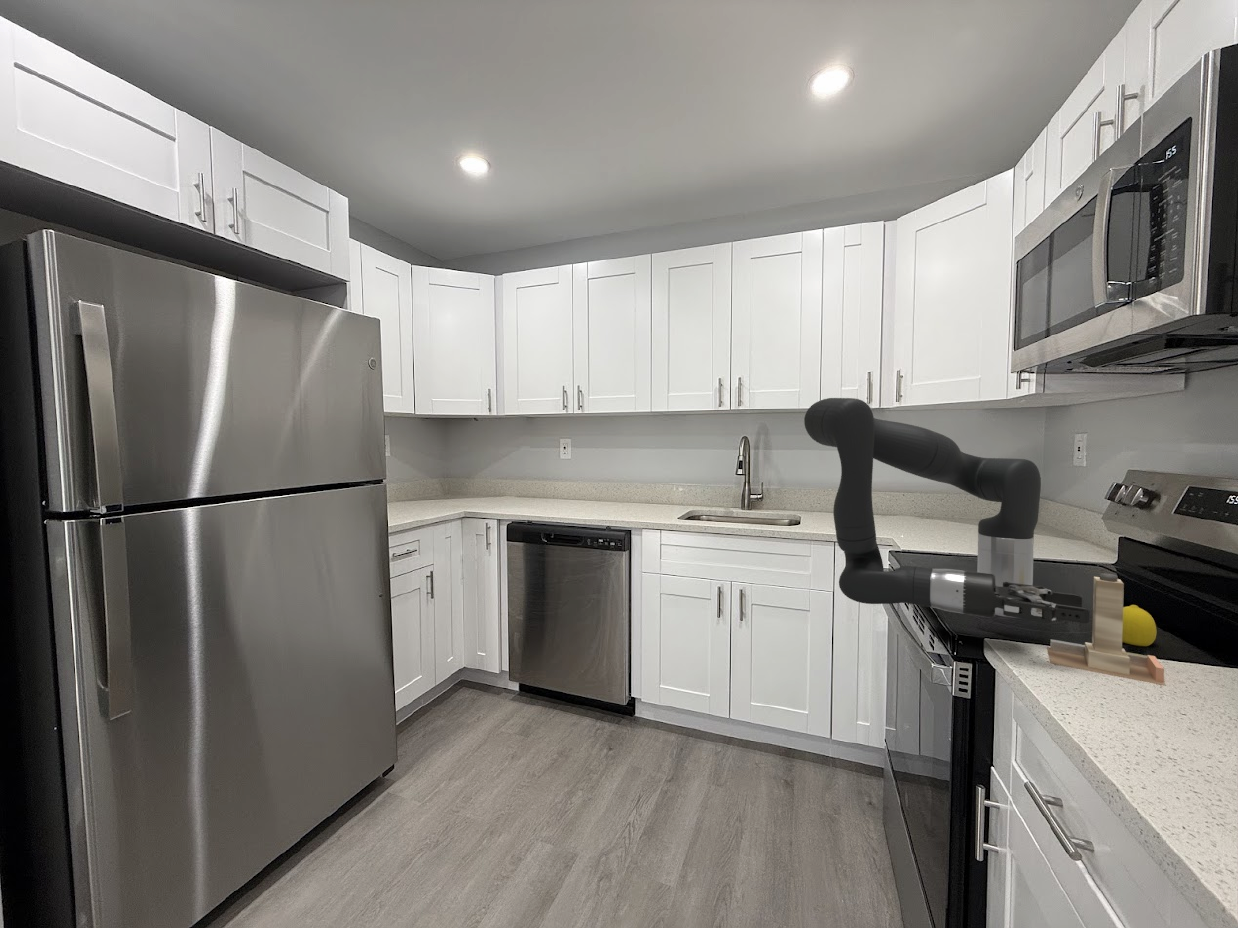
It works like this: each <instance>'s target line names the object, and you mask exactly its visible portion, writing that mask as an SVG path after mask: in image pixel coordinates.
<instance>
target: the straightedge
mask: <svg viewBox="0 0 1238 928" xmlns="http://www.w3.org/2000/svg"><path fill="white" fill-rule="evenodd" d="M1049 646H1050V647H1049V648H1051V650H1052V651H1058V652H1063V653H1069V654H1075V655H1080V656H1085V644H1082V643H1075V642H1068V641H1063V640H1058V639H1052V638H1051V639H1050V645H1049ZM1126 653H1127V655H1128V656H1129V658H1130V665H1135V666H1141V667H1146V668H1147V655H1145V654H1144V655H1143V654H1139V653H1133V652H1128V651H1126Z"/></svg>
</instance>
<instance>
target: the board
mask: <svg viewBox="0 0 1238 928" xmlns="http://www.w3.org/2000/svg"><path fill="white" fill-rule="evenodd" d="M1046 650H1047V655H1048V656H1047V657H1048V659H1049V660H1048V661H1049V663H1050V664H1052V665H1057V666H1062V667H1067V668H1073V669H1077V670H1078V669H1079V670H1083V671H1089V672H1093V673H1098V674H1103V675H1107V676H1114V677H1119V678H1124V679H1130V680H1134V681H1138V682H1139V681H1140V682H1146V683H1150V684H1154V685H1155V684H1156V685H1158V686H1159V685H1160V686H1167V685H1166V684H1165V681H1164V682H1160V681H1156V680H1155V679H1154V677H1153V676H1152V674H1151V673H1150V671H1149V670H1148V668H1146V667H1141V666H1135V665H1130V668H1129V675H1127V674H1122V673H1117V672H1112V671H1107V670H1101V669H1096V668H1091V667H1088V665H1087V662H1086V659H1085V656H1080V655H1075V654H1069V653H1063V652H1058V651H1052V650H1051V648H1050V647H1048V646H1046Z"/></svg>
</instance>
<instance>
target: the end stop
mask: <svg viewBox="0 0 1238 928" xmlns="http://www.w3.org/2000/svg"><path fill="white" fill-rule="evenodd" d="M1146 656H1147V668H1148V670H1149V671H1150V673H1151V674H1152V676H1153V677H1154V679H1155V680H1156V681H1160V682H1164V683H1165V668H1164V667H1163V665H1162V664H1161V662H1160V661H1159V660H1158V658H1157V657H1156V656H1155V655H1150V654H1147V655H1146Z"/></svg>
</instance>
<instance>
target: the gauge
mask: <svg viewBox="0 0 1238 928" xmlns="http://www.w3.org/2000/svg"><path fill="white" fill-rule="evenodd" d="M1124 588H1125V583H1124V582H1123V581H1122V580H1121V579H1119V578H1118V575H1116V574H1112V573H1099V576H1093V592H1092V593H1093V594H1092V596H1093V599H1092V629H1091V631H1092V632H1091V633H1092V634H1091V635H1092V636H1091V642H1084V645H1085V659H1086V662H1087V665H1088V667H1091V668H1096V669H1101V670H1107V671H1112V672H1117V673H1122V674H1127V675H1129V668H1130V658H1129V656H1128V655H1127V653H1126V652H1127V651H1126V650H1125V648H1123V642H1122V631H1123V607H1124V593H1125V592H1124V591H1125V590H1124Z"/></svg>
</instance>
